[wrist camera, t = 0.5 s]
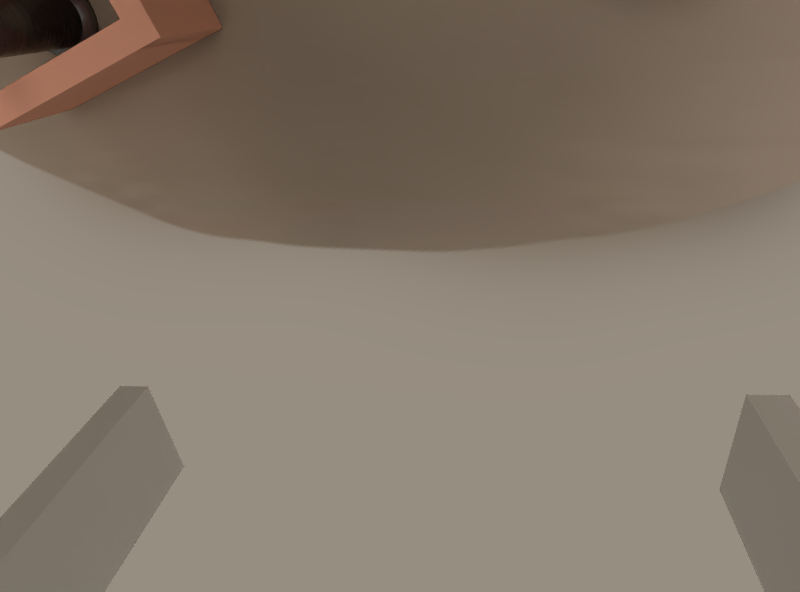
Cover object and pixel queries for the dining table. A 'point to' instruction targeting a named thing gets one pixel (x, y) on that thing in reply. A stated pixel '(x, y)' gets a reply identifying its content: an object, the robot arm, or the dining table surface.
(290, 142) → the dining table surface
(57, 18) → the stand
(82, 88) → the c link
